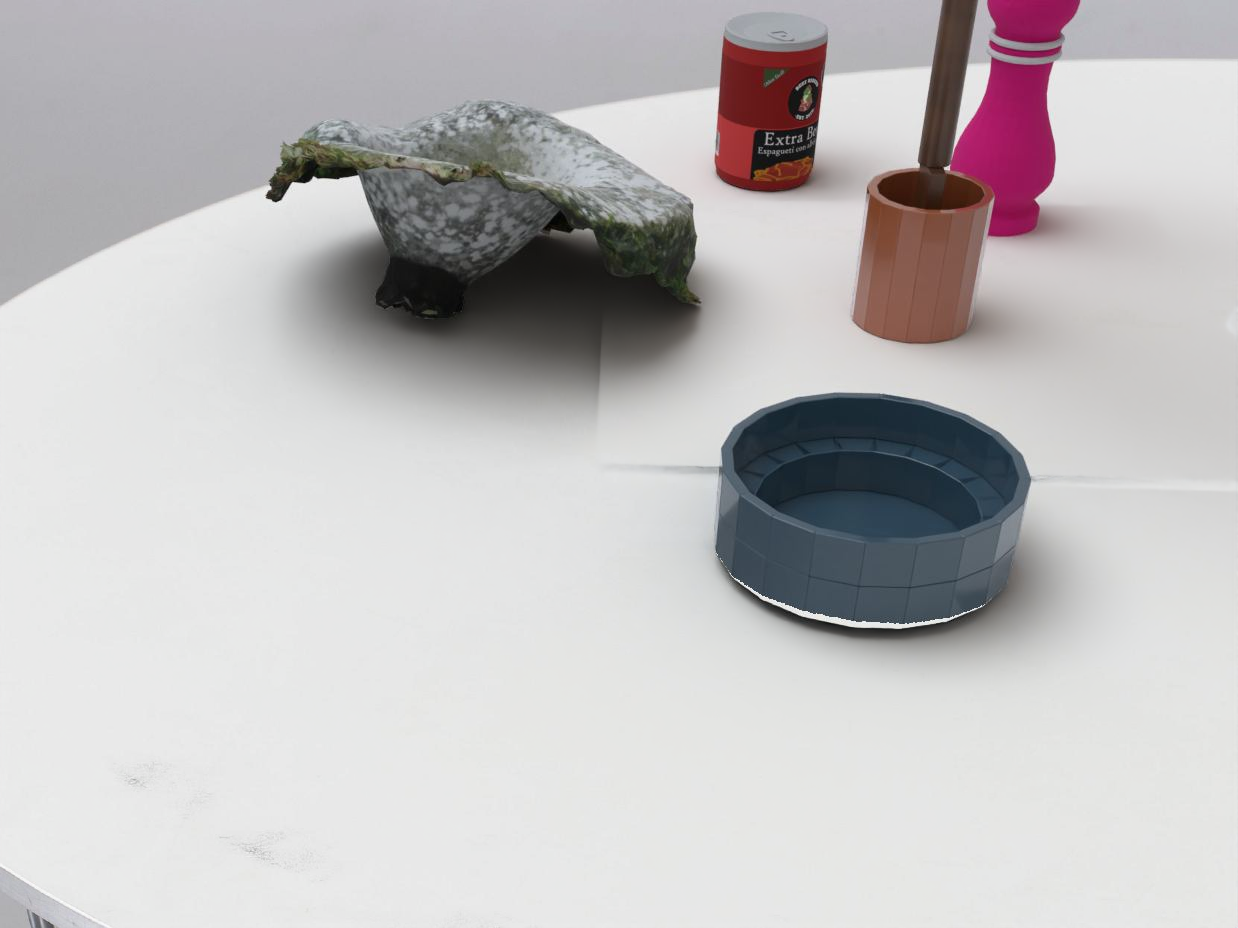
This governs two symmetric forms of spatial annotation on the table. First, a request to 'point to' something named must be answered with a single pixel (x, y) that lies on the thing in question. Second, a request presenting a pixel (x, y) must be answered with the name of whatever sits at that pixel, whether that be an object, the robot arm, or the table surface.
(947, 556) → the bowl
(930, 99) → the long wooden stick
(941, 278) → the crock
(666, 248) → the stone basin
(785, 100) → the canned food
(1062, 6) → the pepper mill
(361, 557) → the table surface
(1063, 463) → the table surface
